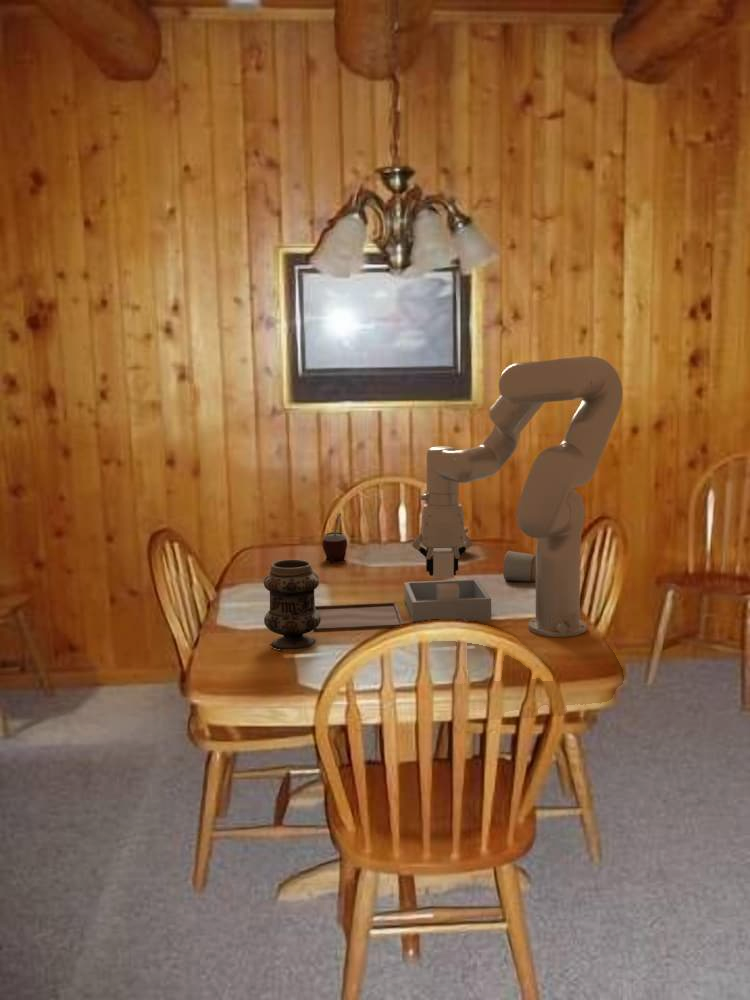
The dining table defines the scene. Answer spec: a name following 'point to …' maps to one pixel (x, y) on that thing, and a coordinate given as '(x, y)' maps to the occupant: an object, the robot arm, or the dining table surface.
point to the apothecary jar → (292, 603)
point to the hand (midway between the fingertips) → (442, 573)
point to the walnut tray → (358, 616)
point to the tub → (447, 601)
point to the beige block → (447, 591)
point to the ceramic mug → (519, 567)
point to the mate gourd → (335, 545)
